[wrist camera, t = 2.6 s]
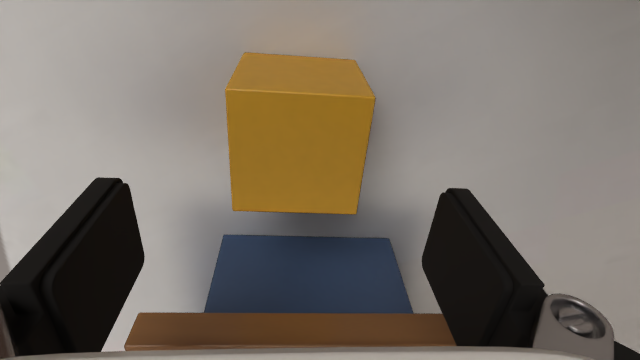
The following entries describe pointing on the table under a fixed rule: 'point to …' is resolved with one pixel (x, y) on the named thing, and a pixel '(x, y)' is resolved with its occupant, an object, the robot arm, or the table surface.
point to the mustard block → (297, 133)
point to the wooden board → (285, 330)
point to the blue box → (306, 276)
